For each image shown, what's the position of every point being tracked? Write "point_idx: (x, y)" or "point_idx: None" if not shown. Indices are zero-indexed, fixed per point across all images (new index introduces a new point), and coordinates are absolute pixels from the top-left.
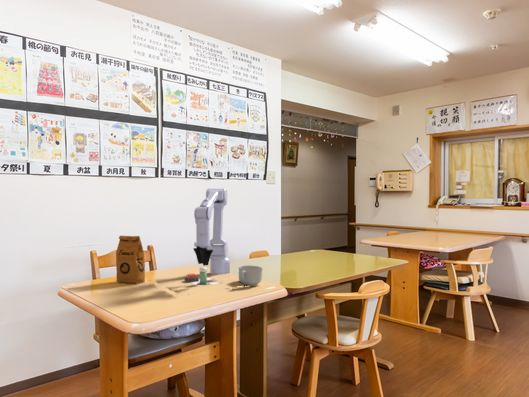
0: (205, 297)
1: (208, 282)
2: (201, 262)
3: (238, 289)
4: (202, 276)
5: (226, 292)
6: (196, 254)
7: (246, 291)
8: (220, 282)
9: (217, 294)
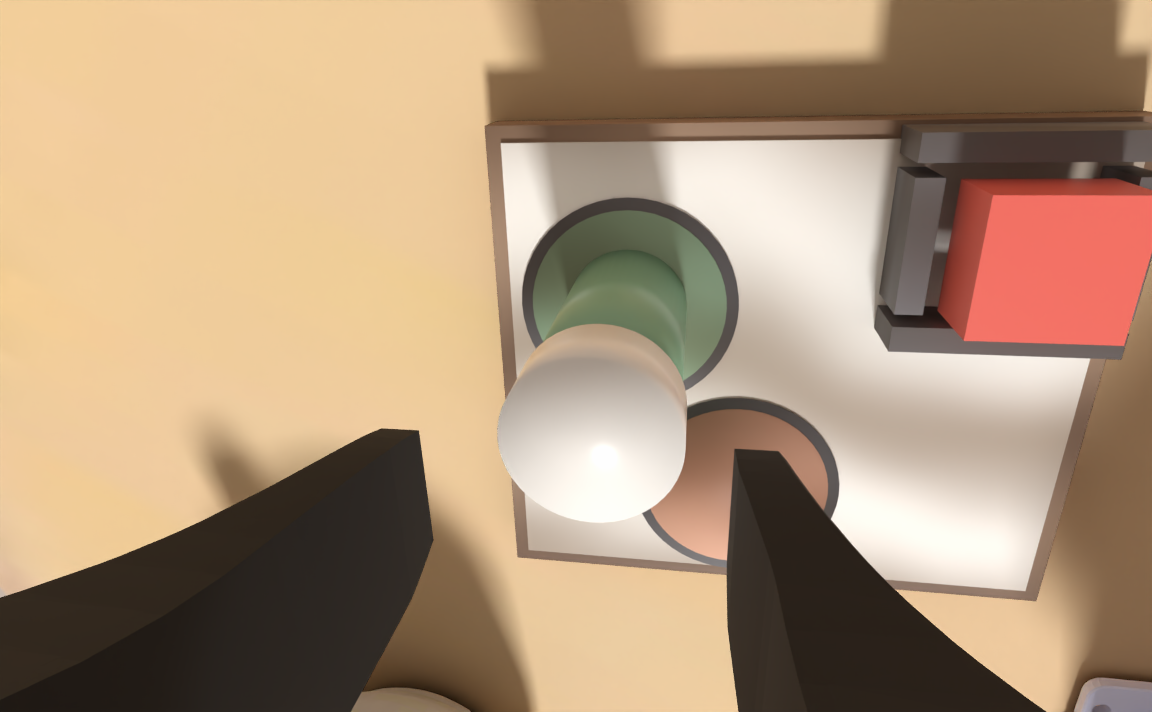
0: (9, 33)
1: None
2: (729, 543)
3: None
4: (555, 319)
5: (180, 384)
6: (860, 635)
7: None
8: (560, 534)
9: (119, 248)
